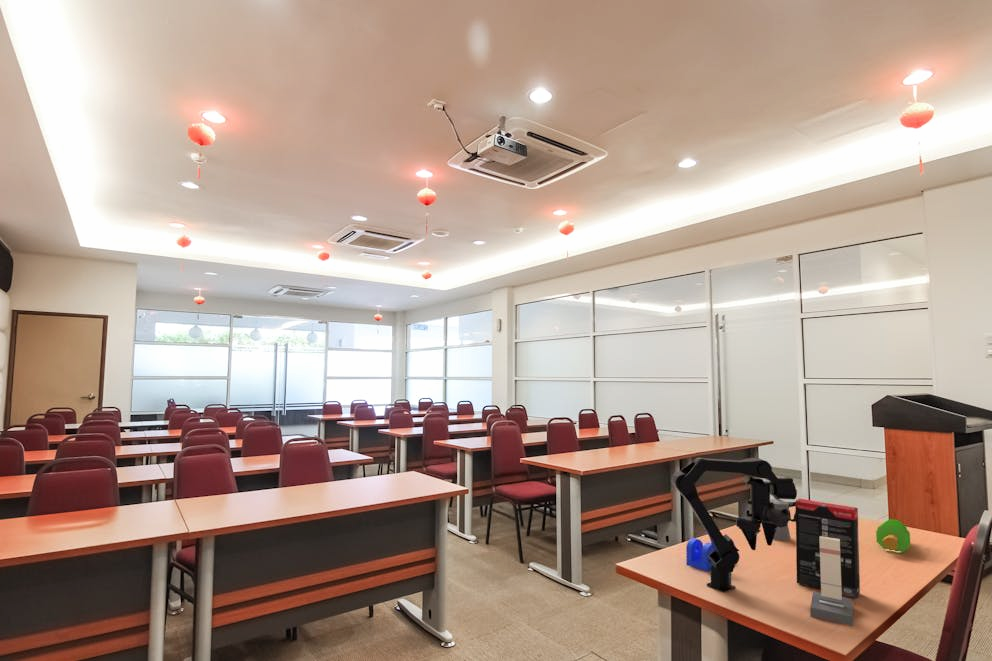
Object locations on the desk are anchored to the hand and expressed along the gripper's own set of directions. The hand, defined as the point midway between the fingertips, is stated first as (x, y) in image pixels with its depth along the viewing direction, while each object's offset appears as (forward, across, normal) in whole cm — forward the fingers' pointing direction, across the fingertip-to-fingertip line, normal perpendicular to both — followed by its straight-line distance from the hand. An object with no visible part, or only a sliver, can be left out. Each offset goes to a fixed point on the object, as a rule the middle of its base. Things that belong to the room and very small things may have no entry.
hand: (761, 547), depth 171 cm
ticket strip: (+9, +2, -20) cm, 22 cm away
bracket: (+13, +7, +23) cm, 28 cm away
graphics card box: (+13, +19, -11) cm, 26 cm away
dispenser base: (+13, +2, -20) cm, 24 cm away
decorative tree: (+13, +90, -4) cm, 91 cm away
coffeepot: (+13, +61, +27) cm, 68 cm away
